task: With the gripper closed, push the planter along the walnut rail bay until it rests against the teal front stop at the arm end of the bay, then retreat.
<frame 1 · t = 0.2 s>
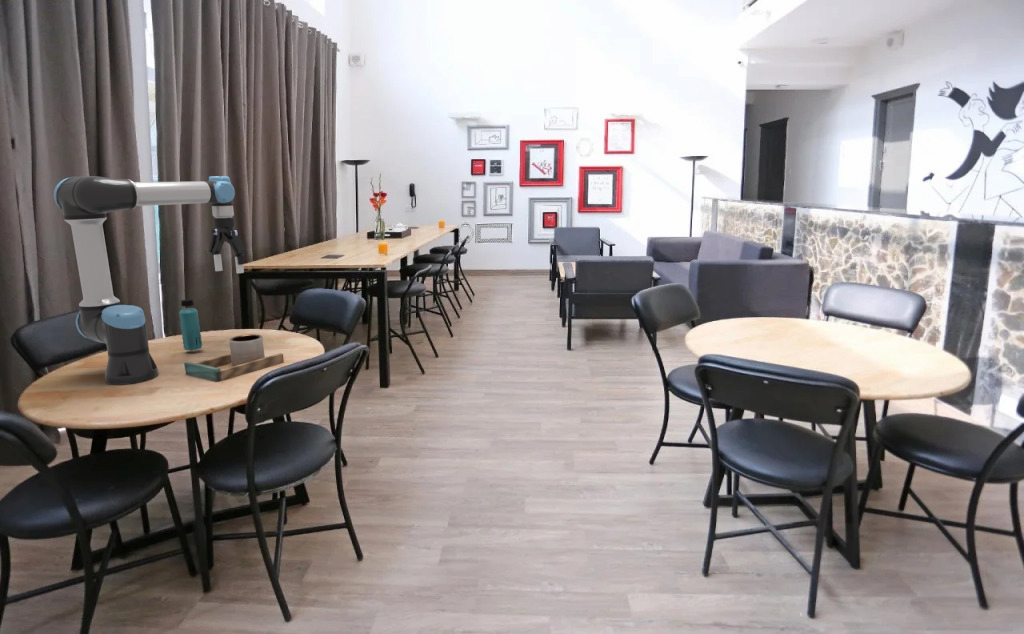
hand: (229, 272, 256), 28 cm above the table, fingers open, 13 cm apart
planter: (248, 365, 228), on the table
beverage bottle: (193, 352, 246), on the table
bay: (236, 367, 224), on the table
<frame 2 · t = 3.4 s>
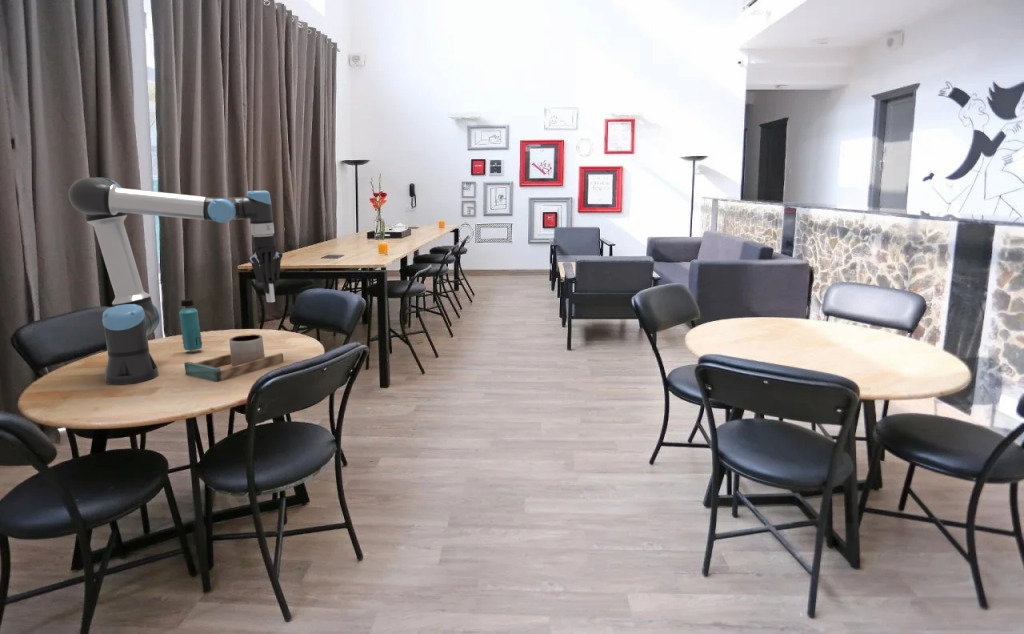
hand: (270, 301, 234), 20 cm above the table, fingers closed
nothing on the table moved.
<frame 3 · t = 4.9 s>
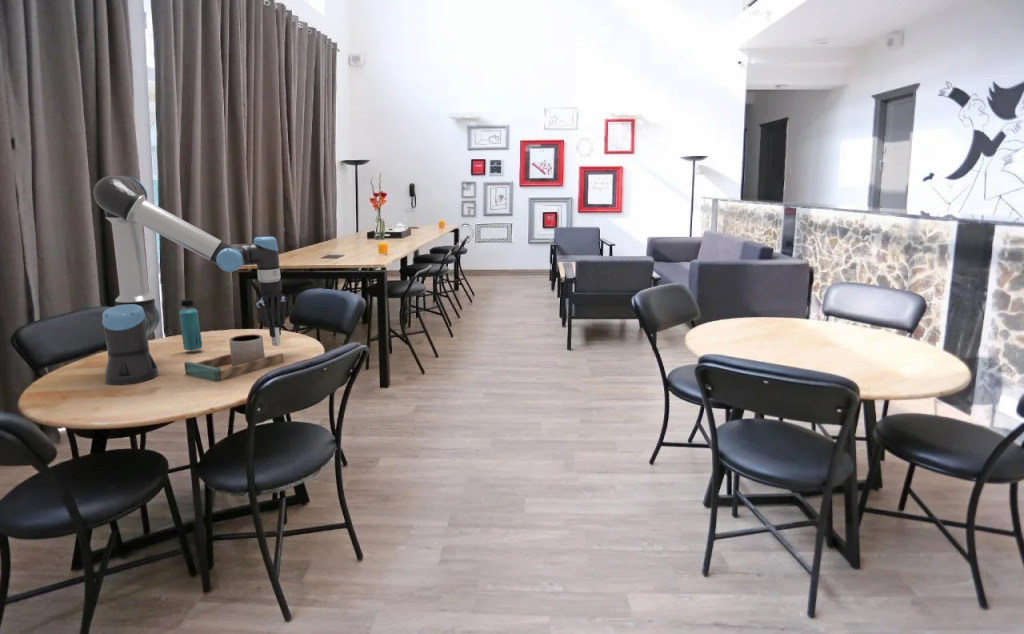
hand: (276, 345, 238), 4 cm above the table, fingers closed
nothing on the table moved.
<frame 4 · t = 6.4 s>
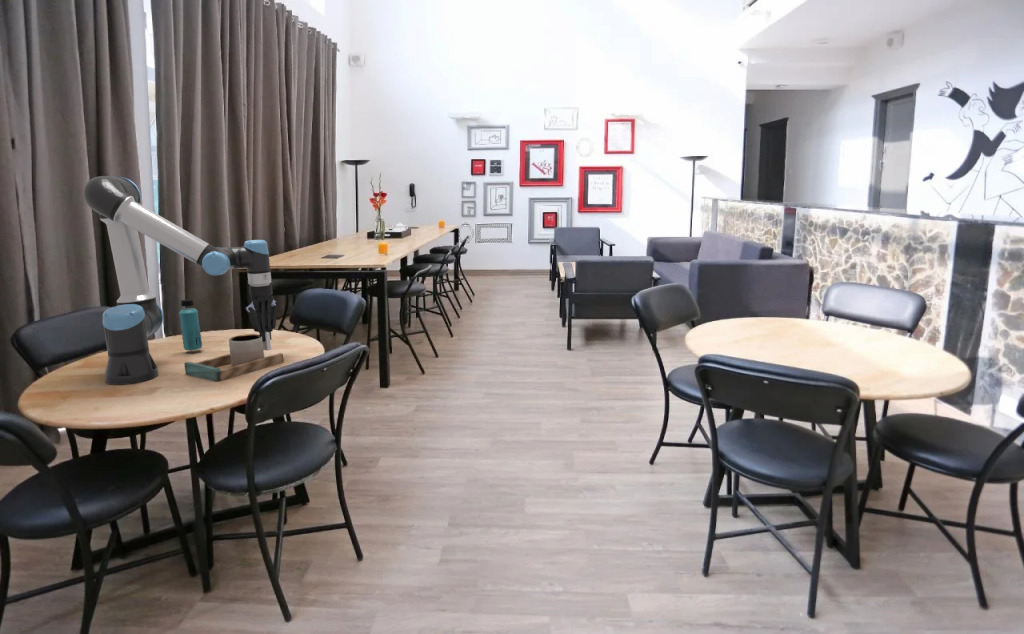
hand: (266, 349, 234), 3 cm above the table, fingers closed
planter: (248, 364, 228), on the table, touching gripper
everything else where it was.
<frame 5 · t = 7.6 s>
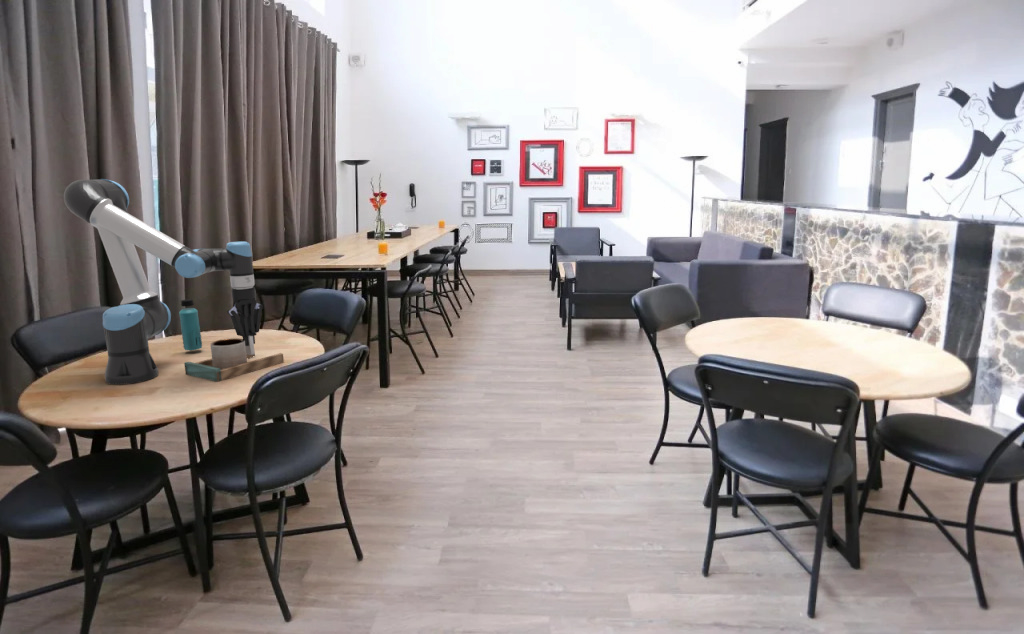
hand: (250, 354, 229), 3 cm above the table, fingers closed
planter: (230, 369, 223), on the table, touching gripper
everything else where it was.
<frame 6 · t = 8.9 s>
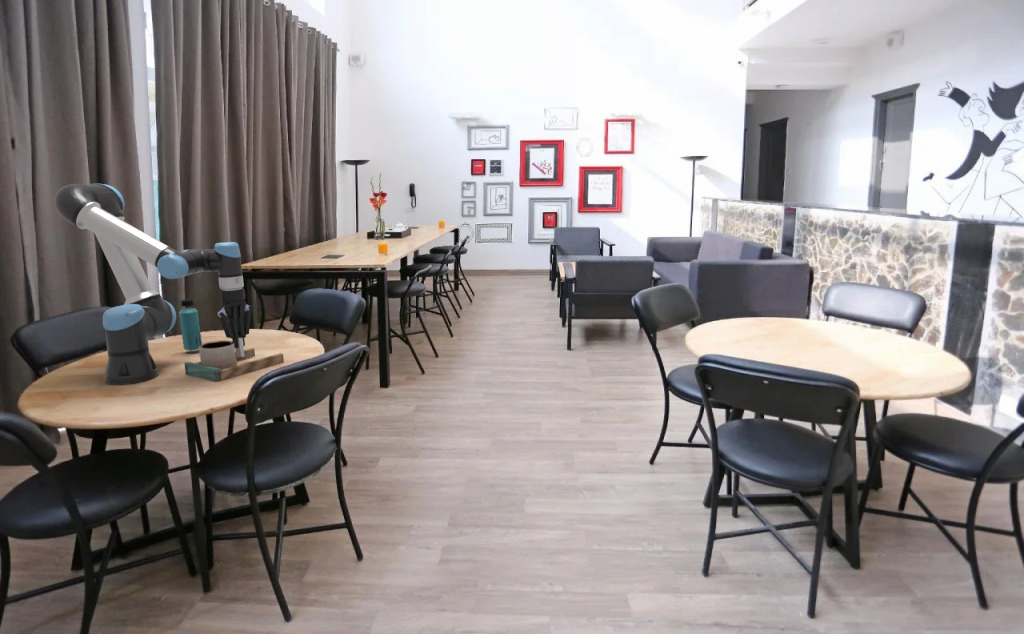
hand: (240, 356, 225), 4 cm above the table, fingers closed
planter: (220, 372, 219), on the table, touching bay, gripper
everything else where it was.
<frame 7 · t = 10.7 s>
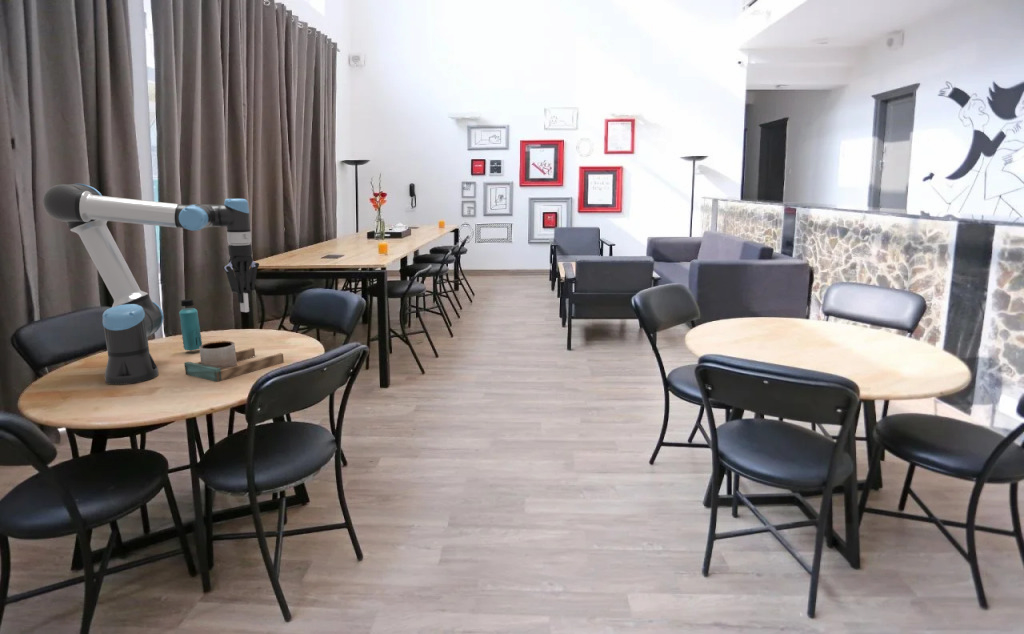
hand: (244, 311, 230), 18 cm above the table, fingers closed
planter: (220, 373, 219), on the table
everything else where it was.
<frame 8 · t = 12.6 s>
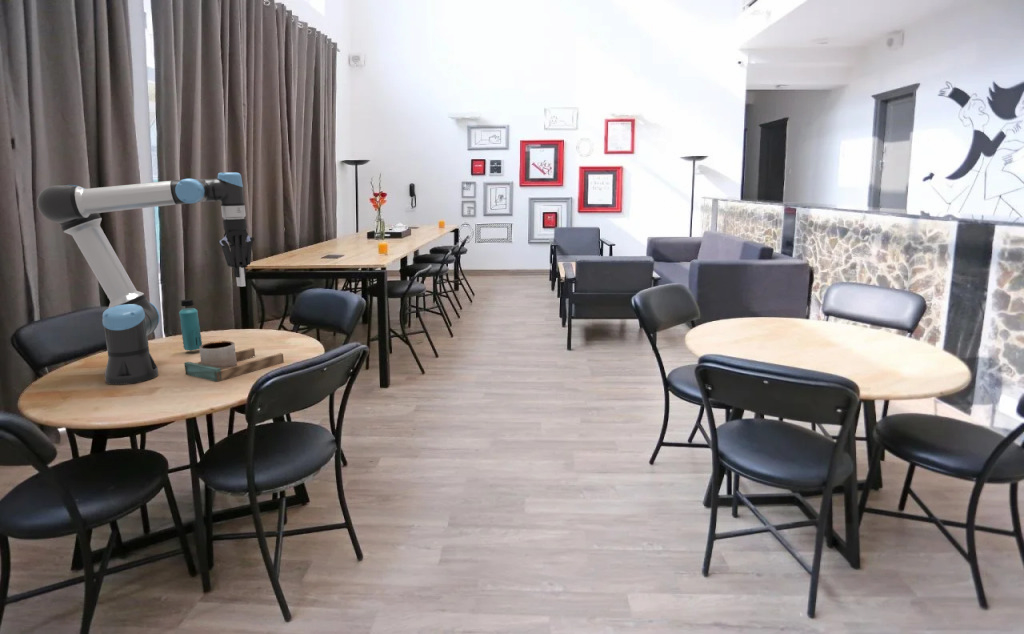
hand: (241, 286, 230), 26 cm above the table, fingers closed
nothing on the table moved.
at the end: planter inside the target area (0.8 cm from its centre), on the table; planter tilted 0°; planter moved 11.0 cm from its start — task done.
